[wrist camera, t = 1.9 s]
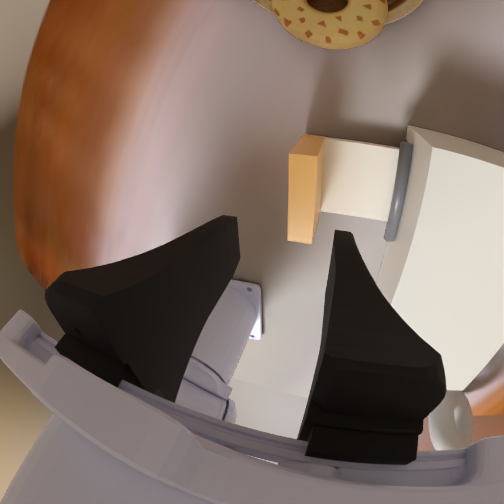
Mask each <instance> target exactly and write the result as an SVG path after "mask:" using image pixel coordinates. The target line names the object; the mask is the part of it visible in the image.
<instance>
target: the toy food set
mask: <svg viewBox="0 0 504 504" xmlns="http://www.w3.org/2000/svg"><path fill="white" fill-rule="evenodd" d="M253 1H254V2H255V3H256V4H258V5H259V6H261V7H262V8H264V9H266V10H267V11H269V12H271V13H273V14H275V15H276V17H277V18H278V20H279V22H280V23H281V24H282V26H283V27H284V28H285V29H286V30H287V31H288V32H290V33H291V34H292V35H294V36H295V37H297V38H298V39H300V40H302V41H304V42H306V43H309V44H311V45H314V46H317V47H322V48H326V49H335V50H338V49H350V48H354V47H358V46H361V45H364V44H366V43H368V42H370V41H371V40H373V39H374V38H375V37H376V36H378V35H379V33H380V32H381V31H382V29H383V27H384V25H386V24H389V23H392V22H395V21H397V20H399V19H401V18H403V17H405V16H407V15H408V14H410V13H411V12H413V11H414V10H415V9H416V8H417V7H418V6H419V5H420V4H421V3H422V2H423V0H253Z"/></svg>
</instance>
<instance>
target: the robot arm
mask: <svg viewBox="0 0 504 504" xmlns="http://www.w3.org/2000/svg"><path fill="white" fill-rule="evenodd" d="M239 260H240V249H239V237H238V224H237V217H234V216H225V215H223V216H220V217H218V218H215V219H213V220H211V221H209V222H207V223H205V224H204V225H202V226H200V227H198V228H196V229H194V230H192V231H190V232H188V233H186V234H184V235H182V236H180V237H178V238H176V239H174V240H172V241H170V242H168V243H166V244H164V245H162V246H159V247H157V248H155V249H152V250H150V251H147V252H145V253H142V254H139V255H136V256H133V257H130V258H127V259H124V260H121V261H118V262H114V263H110V264H106V265H102V266H97V267H93V268H87V269H81V270H74V271H67V272H64V273H63V274H62V275H60V276H59V277H58V278H57V279H56V280H55V281H54V282H53V283H52V284H51V285H50V286H49V287H48V288H47V289H46V291H45V300H46V302H47V305H48V307H49V309H50V310H51V312H52V314H53V315H54V317H55V318H56V320H57V321H58V323H59V325H60V326H61V328H62V329H63V331H64V332H65V333H66V334H65V335H64V336H63V337H62V339H61V340H60V341H59V342H57V341H55V340H54V339H52V338H51V337H49V336H48V335H46V334H45V333H43V332H42V331H41V329H40V327H39V326H38V324H37V323H36V321H35V320H34V319H33V318H32V317H31V316H29V315H28V314H27V313H25V312H24V311H23V310H19V311H18V312H17V313H16V314H15V315H14V316H13V317H12V319H11V320H10V321H9V322H8V323H7V324H6V325H5V326H4V328H3V329H2V330H1V331H0V359H1V360H2V361H3V362H4V363H5V364H6V365H7V366H8V367H9V369H11V371H12V372H13V373H14V374H15V375H16V376H17V377H18V378H19V379H20V380H21V381H22V382H23V383H24V384H25V385H26V386H27V387H28V388H29V389H30V391H31V392H32V393H33V394H34V395H35V396H36V397H37V398H38V399H39V400H40V401H41V402H42V403H43V404H44V405H46V406H47V407H48V408H49V409H50V410H51V411H52V412H54V414H53V415H52V417H51V418H50V420H49V421H48V423H47V424H46V426H45V427H44V429H43V430H42V432H41V434H40V435H39V437H38V438H37V440H36V441H35V443H34V445H33V446H32V448H31V449H30V451H29V453H28V454H27V456H26V458H25V459H24V461H23V463H22V464H21V466H20V468H19V470H18V471H17V473H16V475H15V476H14V478H13V480H12V482H11V483H10V485H9V487H8V489H7V491H6V493H5V494H4V496H3V498H2V500H1V502H0V504H504V435H501V436H494V437H487V438H483V439H480V440H478V441H476V442H474V443H472V444H471V445H470V446H468V447H467V448H465V449H454V450H438V451H417V446H418V435H419V434H421V433H422V431H423V419H424V418H425V417H427V416H428V415H429V414H430V413H431V412H432V411H433V410H434V409H435V408H436V407H437V406H438V405H439V404H440V403H441V402H442V400H443V399H444V398H445V395H446V391H447V389H446V377H445V370H444V366H443V361H442V356H441V354H440V353H438V352H437V351H436V350H435V349H434V348H433V347H431V346H430V345H429V344H428V343H427V342H426V341H424V340H423V339H422V338H421V337H420V336H419V335H418V334H417V333H416V332H415V331H414V330H413V329H412V328H411V327H410V326H409V325H408V324H407V323H406V322H405V321H404V320H403V319H402V318H401V317H400V315H399V314H398V313H397V312H396V311H395V309H394V308H393V307H392V306H391V305H390V303H389V302H388V301H387V300H386V298H385V297H384V295H383V294H382V292H381V291H380V289H379V288H378V286H377V285H376V283H375V281H374V280H373V278H372V276H371V274H370V273H369V271H368V269H367V267H366V265H365V263H364V261H363V259H362V257H361V255H360V253H359V250H358V248H357V245H356V243H355V240H354V237H353V234H352V233H351V232H347V231H340V230H335V233H334V240H333V248H332V255H331V261H330V268H329V274H328V280H327V287H326V292H325V304H324V316H323V327H322V338H321V345H320V351H319V356H318V360H317V365H316V369H315V374H314V378H313V382H312V386H311V390H310V394H309V398H308V402H307V406H306V409H305V414H304V417H303V420H302V424H301V427H300V431H299V434H298V438H297V439H292V438H287V437H283V436H278V435H274V434H270V433H266V432H261V431H258V430H254V429H250V428H247V427H243V426H239V425H236V424H235V421H236V416H237V411H236V407H235V402H234V401H233V400H231V399H229V396H230V393H231V391H232V388H231V387H230V386H228V385H229V382H230V380H231V378H232V376H233V373H234V371H235V369H236V367H237V364H238V362H239V360H240V357H241V355H242V353H243V350H244V348H245V346H246V344H247V341H248V339H249V338H251V339H256V340H260V339H261V338H262V312H261V288H260V286H259V285H257V284H253V283H248V282H243V281H237V280H232V277H233V274H234V272H235V270H236V267H237V265H238V262H239ZM249 287H250V288H251V289H250V288H249ZM242 453H243V454H242ZM245 454H246V455H245ZM248 455H250V456H248ZM251 456H253V457H251ZM254 457H257V458H261V459H265V460H269V461H274V462H278V465H276V464H273V463H269V462H266V461H263V460H260V459H257V458H254Z"/></svg>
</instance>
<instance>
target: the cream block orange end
mask: <svg viewBox="0 0 504 504" xmlns="http://www.w3.org/2000/svg"><path fill="white" fill-rule="evenodd" d="M399 149H400V148H398V147H392V146H386V145H381V144H374V143H368V142H361V141H354V140H346V139H337V138H328V137H326V136H317V135H306V134H304V135H303V136H302V138H301V139H300V140H299V141H298V143H297V144H296V145H295V147H294V148H293V149H292V150H291V152H290V153H289V190H288V235H287V240H288V241H295V242H302V243H309V244H312V242H313V238H314V234H315V230H316V226H317V222H318V218H319V214H320V211H322V212H329V213H336V214H343V215H350V216H357V217H363V218H370V219H376V220H382V221H387V220H388V216H389V211H390V206H391V200H392V195H393V189H394V183H395V177H396V171H397V164H398V157H399Z"/></svg>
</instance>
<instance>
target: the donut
mask: <svg viewBox="0 0 504 504" xmlns="http://www.w3.org/2000/svg"><path fill="white" fill-rule="evenodd" d="M428 420H429V432H430V437H431V441H432V443H433V446H434V448H435V449H436V451H438V450H454V449H465V448H467V447H468V446H469V444H470V441H471V438H472V434H473V415H472V410H471V407H470V404H469V401H468V399H467V398H466V396H465V394H464V393H463V392H462V391H458V390H447V391H446V395H445V398H444V399H443V400H442V402H441V403H440V404H439V405H438V406H437V407H436V408H435V409H434V410H433V411H432V412H431V413H430V414H429V418H428Z"/></svg>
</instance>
